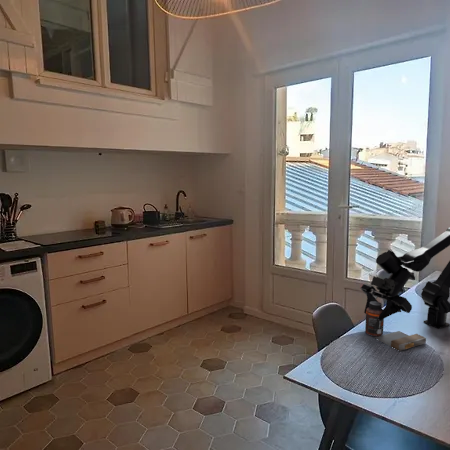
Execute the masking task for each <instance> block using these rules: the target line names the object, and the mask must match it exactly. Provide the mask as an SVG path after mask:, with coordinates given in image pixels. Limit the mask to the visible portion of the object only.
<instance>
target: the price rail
mask: <svg viewBox="0 0 450 450" xmlns="http://www.w3.org/2000/svg"><path fill="white" fill-rule="evenodd" d="M426 342H427V337H424V336H422V335H420V334H418V333H414V334H410V335H409V336H406V337H403V338H399V339H396V340H392V341H391V347H390V348H392V347H393V348H392V349H394V348H395V349H394V350H396V349H397V350H396V351H398V350H399V351H398V352H401V351H404V350H408V349H411V348H414V347H418V346H421V345H424V344H426Z"/></svg>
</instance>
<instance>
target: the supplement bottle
mask: <svg viewBox="0 0 450 450" xmlns="http://www.w3.org/2000/svg"><path fill="white" fill-rule="evenodd" d="M369 306H370V307H368V308H367V309H366V314H365V326H364V328H365V329H364V330H365V331H364V332H365V333H366V334H367V335H369V336H371V335H372V337H379V336H382V335H384V334H383V333H384V326H385V325H384V322H385V320H384V319H385V318H384V319H382V320H379V319H378V317H379V315H380V314H381V312H382V311H383V309H384V308H382V302H380V301H378V302H376V301H372V302H370V304H369Z"/></svg>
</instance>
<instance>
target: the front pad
mask: <svg viewBox="0 0 450 450" xmlns="http://www.w3.org/2000/svg"><path fill="white" fill-rule="evenodd" d="M406 336H410V335H408V334H407V333H404V332H402V331H400V330H398V331H394V332H390V333H386V334H382V335H381V336H374V338H376V339H378V340H379V341H378V340H377V341H378V342H380V341H381V342H380V343H382V342H383V343H382V344H384V343H385V344H384V345H386V344H387V345H386V346H388V345H389V346H388V347H390V346H391V341H392V340H396V339H399V338H403V337H406ZM376 339H375V340H376Z"/></svg>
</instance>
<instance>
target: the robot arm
mask: <svg viewBox="0 0 450 450" xmlns="http://www.w3.org/2000/svg"><path fill="white" fill-rule="evenodd" d="M448 247H450V227H448V228H447V229H445V231H444V232H443V233H441V234H440V235H438V236H436V237H434V239H432V240H431V241H429V242H427V244H425V245H424V246H422V247H419V248H416V249H412V250H410V251H408V252H406V253H404V254H403V255H400V256H397V255H396V253H395V251H393V250H391V249H388V250H387V251H385V252H382V253H381V254H378V255H377V257H376V259H375V263H376V264H377V265H378V266H379V267H380V268H381V269H382V270H383V271H384V272H385V273H386V274H388V275H389V276H388V277H384V278H380V277H377V276H373V277H372V279H371V282H370V284H368V283H363V284H362V286H361V287H360V290H361V291H362V292H363V293H364V294H365V296H366V297H367V298H366V305H365V308H364V311H363V313H364V314H365V315H366V309H367V308H368V307H370V306H369V304H370V302H372V301H376V302H379V301H378V298H380V299H382V300H385V301H386V304H385V306H384V308H382V309H383V311H382V312H381V314H380V315H379V317H378V319H379V320H382V319H386V318H387V317H390V316H392V315H394V314H397V313H402V312H403V313H407V314H410V312H412V310H413V309H412V308H413V305H412V304H411V302H410V301H409V300H408V299H407V298H406V297H404V296H401V295H399V294H401V293H402V294H403V293H404V291H405V290H404V287H405V285H406V284H407V282H408V281H409V280H410V281H416V276H415V273H414V272H416V273H417V272H422V271H423V270H424V269H425V268H426V267H427V266H429V264H430V262H431V260H432V259H433V258H434V257H435V256H437V255H438V254H439V253H441V252H442V251H444V250H445V249H447V248H448ZM411 271H412V272H411ZM375 287H376V288H375ZM420 296H421V299H422V301H423V302H424V305H425V306H427V307H428V308H427V318H426V319H425V320H423V323H424V324H427V325H429V326H432V327H435V328H437V329H441V328H446V327H448V326H450V323H449V322H447V316H448V314H449V313H450V301H449V298H450V260H449V261H448V262H447V264H446V265H445V266H444V268H443V270H442V271H441V273H440V274H439V276H438V277H437V278H436V280H434V281H433V282H431V281H429V280H428V281H427V282H426V283H425V285H424V287H423V288H422V289H421V294H420Z"/></svg>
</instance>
